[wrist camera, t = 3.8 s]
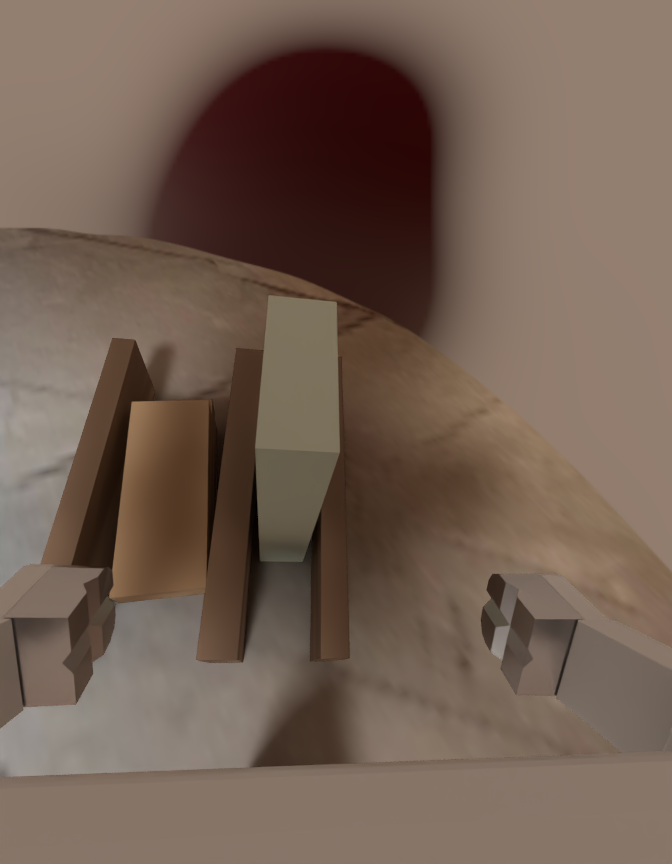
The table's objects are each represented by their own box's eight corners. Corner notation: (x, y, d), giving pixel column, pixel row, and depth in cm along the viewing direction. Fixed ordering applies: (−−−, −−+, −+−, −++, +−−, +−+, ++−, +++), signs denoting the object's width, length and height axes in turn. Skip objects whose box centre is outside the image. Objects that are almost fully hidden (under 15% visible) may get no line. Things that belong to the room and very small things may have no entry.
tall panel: (260, 561, 24) (255, 448, 12) (266, 464, 27) (268, 295, 15) (302, 562, 24) (339, 452, 12) (304, 466, 27) (336, 302, 15)
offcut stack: (136, 611, 22) (109, 598, 18) (152, 427, 27) (133, 386, 23) (216, 602, 23) (206, 587, 19) (217, 424, 28) (209, 384, 24)
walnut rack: (63, 664, 20) (9, 662, 16) (135, 389, 28) (112, 337, 24) (333, 661, 22) (349, 658, 18) (330, 402, 30) (341, 356, 26)
